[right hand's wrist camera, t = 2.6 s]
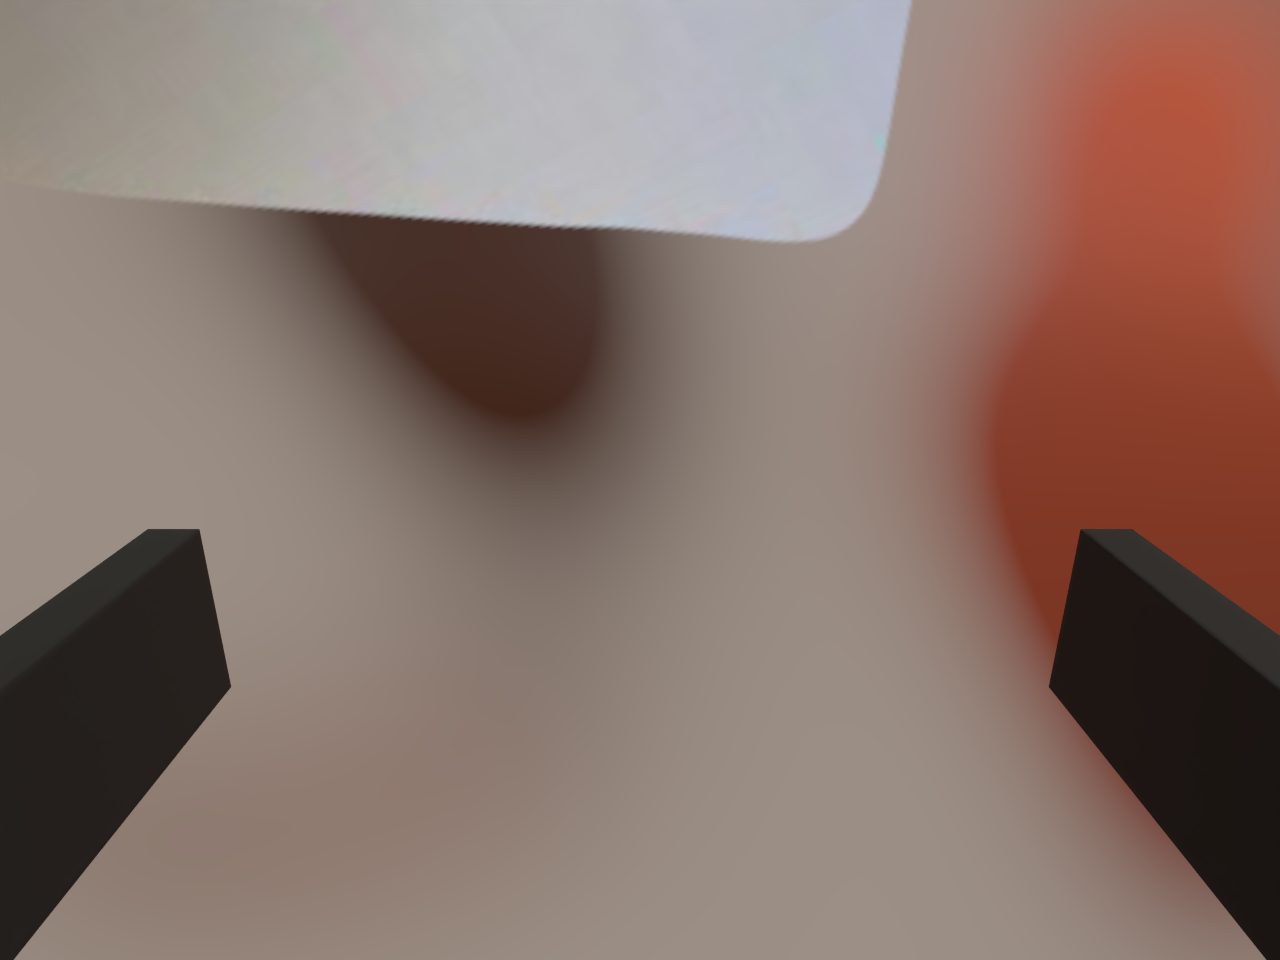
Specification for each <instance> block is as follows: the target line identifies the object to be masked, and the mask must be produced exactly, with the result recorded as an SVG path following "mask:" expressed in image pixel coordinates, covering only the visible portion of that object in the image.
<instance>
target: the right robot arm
mask: <svg viewBox="0 0 1280 960" xmlns="http://www.w3.org/2000/svg"><path fill="white" fill-rule="evenodd" d="M230 687H231V684H230V679H229V674H228V669H227V664H226V659H225V654H224V649H223V644H222V639H221V634H220V629H219V624H218V620H217V615H216V610H215V605H214V600H213V595H212V590H211V585H210V580H209V575H208V570H207V565H206V560H205V555H204V550H203V545H202V540H201V535H200V530H199V529H148V530H146V531H145V532H143V533H142V534H141V535H139V536H138V537H136V538H135V539H134V540H132V541H131V542H130V543H128V544H127V545H125V546H124V547H123V548H121V549H120V550H118V551H117V552H116V553H114V554H113V555H112V556H110V557H109V558H107V559H106V560H105V561H103V562H102V563H100V564H99V565H98V566H96V567H95V568H94V569H92V570H91V571H89V572H88V573H87V574H85V575H84V576H82V577H81V578H80V579H78V580H77V581H76V582H74V583H73V584H71V585H70V586H69V587H67V588H66V589H64V590H63V591H62V592H60V593H59V594H58V595H56V596H55V597H53V598H52V599H51V600H49V601H48V602H46V603H45V604H44V605H42V606H41V607H39V608H38V609H37V610H35V611H34V612H33V613H31V614H30V615H28V616H27V617H26V618H24V619H23V620H22V621H20V622H19V623H17V624H16V625H15V626H13V627H12V628H10V629H9V630H8V631H6V632H5V633H4V634H2V635H1V636H0V960H14V958H15V957H16V956H17V955H18V953H19V952H20V951H21V950H22V948H23V947H24V946H25V945H26V943H27V942H28V941H29V940H30V938H31V937H32V936H33V935H34V933H35V932H36V931H37V930H38V928H39V927H40V926H41V925H42V923H43V922H44V921H45V920H46V918H47V917H48V916H49V915H50V913H51V912H52V911H53V910H54V908H55V907H56V906H57V905H58V903H59V902H60V901H61V900H62V898H63V897H64V896H65V895H66V893H67V892H68V891H69V889H70V888H71V887H72V886H73V884H74V883H75V882H76V881H77V879H78V878H79V877H80V876H81V874H82V873H83V872H84V871H85V869H86V868H87V867H88V866H89V864H90V863H91V862H92V861H93V859H94V858H95V857H96V856H97V854H98V853H99V852H100V851H101V849H102V848H103V847H104V846H105V844H106V843H107V842H108V841H109V839H110V838H111V837H112V835H113V834H114V833H115V832H116V831H117V829H118V828H119V827H120V825H121V824H122V823H123V822H124V820H125V819H126V818H127V817H128V815H129V814H130V813H131V812H132V810H133V809H134V808H135V807H136V805H137V804H138V803H139V802H140V800H141V799H142V798H143V797H144V795H145V794H146V793H147V792H148V790H149V789H150V788H151V787H152V785H153V784H154V783H155V782H156V780H157V779H158V778H159V777H160V775H161V774H162V773H163V771H164V770H165V769H166V768H167V767H168V765H169V764H170V763H171V762H172V760H173V759H174V758H175V757H176V755H177V754H178V753H179V752H180V750H181V749H182V748H183V746H184V745H185V744H186V743H187V741H188V740H189V739H190V738H191V736H192V735H193V734H194V733H195V731H196V730H197V729H198V728H199V726H200V725H201V724H202V723H203V721H204V720H205V719H206V718H207V716H208V715H209V714H210V713H211V711H212V710H213V709H214V708H215V706H216V705H217V704H218V703H219V701H220V700H221V699H222V698H223V696H224V695H225V694H226V692H227V691H228V690H229V689H230ZM1049 688H1050V689H1051V690H1052V691H1053V693H1054V694H1055V695H1056V696H1057V698H1058V699H1059V700H1060V701H1061V703H1062V704H1063V705H1064V706H1065V708H1066V709H1067V710H1068V711H1069V713H1070V714H1071V715H1072V716H1073V718H1074V719H1075V720H1076V721H1077V723H1078V724H1079V725H1080V726H1081V728H1082V729H1083V730H1084V731H1085V733H1086V734H1087V735H1088V736H1089V738H1090V739H1091V740H1092V741H1093V743H1094V744H1095V745H1096V746H1097V748H1098V749H1099V750H1100V752H1101V753H1102V754H1103V755H1104V757H1105V758H1106V759H1107V760H1108V762H1109V763H1110V764H1111V765H1112V767H1113V768H1114V769H1115V770H1116V772H1117V773H1118V774H1119V775H1120V777H1121V778H1122V779H1123V780H1124V782H1125V783H1126V784H1127V785H1128V787H1129V788H1130V789H1131V790H1132V792H1133V793H1134V794H1135V795H1136V797H1137V798H1138V799H1139V800H1140V802H1141V803H1142V804H1143V805H1144V807H1145V808H1146V809H1147V810H1148V812H1149V813H1150V814H1151V815H1152V817H1153V818H1154V819H1155V821H1156V822H1157V823H1158V824H1159V826H1160V827H1161V828H1162V829H1163V831H1164V832H1165V833H1166V834H1167V836H1168V837H1169V838H1170V839H1171V841H1172V842H1173V843H1174V844H1175V846H1176V847H1177V848H1178V849H1179V851H1180V852H1181V853H1182V854H1183V856H1184V857H1185V858H1186V859H1187V861H1188V862H1189V863H1190V864H1191V866H1192V867H1193V868H1194V869H1195V871H1196V872H1197V873H1198V874H1199V876H1200V877H1201V878H1202V879H1203V881H1204V882H1205V883H1206V884H1207V886H1208V887H1209V888H1210V889H1211V891H1212V892H1213V893H1214V894H1215V896H1216V897H1217V898H1218V900H1219V901H1220V902H1221V903H1222V905H1223V906H1224V907H1225V908H1226V910H1227V911H1228V912H1229V913H1230V915H1231V916H1232V917H1233V918H1234V920H1235V921H1236V922H1237V923H1238V925H1239V926H1240V927H1241V928H1242V930H1243V931H1244V932H1245V933H1246V935H1247V936H1248V937H1249V938H1250V940H1251V941H1252V942H1253V943H1254V945H1255V946H1256V947H1257V948H1258V950H1259V951H1260V952H1261V953H1262V955H1263V956H1264V957H1265V958H1266V960H1280V636H1279V635H1278V634H1277V633H1275V632H1274V631H1272V630H1271V629H1270V628H1268V627H1267V626H1265V625H1264V624H1263V623H1261V622H1260V621H1258V620H1257V619H1256V618H1254V617H1253V616H1252V615H1250V614H1249V613H1247V612H1246V611H1245V610H1243V609H1242V608H1240V607H1239V606H1238V605H1236V604H1235V603H1234V602H1232V601H1231V600H1229V599H1228V598H1227V597H1225V596H1224V595H1222V594H1221V593H1220V592H1218V591H1217V590H1216V589H1214V588H1213V587H1211V586H1210V585H1209V584H1207V583H1206V582H1204V581H1203V580H1202V579H1200V578H1199V577H1198V576H1196V575H1195V574H1193V573H1192V572H1191V571H1189V570H1188V569H1186V568H1185V567H1184V566H1182V565H1181V564H1180V563H1178V562H1177V561H1175V560H1174V559H1173V558H1171V557H1170V556H1168V555H1167V554H1166V553H1164V552H1163V551H1162V550H1160V549H1159V548H1157V547H1156V546H1155V545H1153V544H1152V543H1150V542H1149V541H1148V540H1146V539H1145V538H1143V537H1142V536H1141V535H1139V534H1138V533H1137V532H1135V531H1134V530H1132V529H1081V530H1080V535H1079V540H1078V545H1077V550H1076V555H1075V560H1074V565H1073V570H1072V575H1071V580H1070V585H1069V590H1068V595H1067V600H1066V605H1065V610H1064V615H1063V619H1062V624H1061V629H1060V634H1059V639H1058V644H1057V649H1056V654H1055V659H1054V664H1053V669H1052V674H1051V679H1050V684H1049Z"/></svg>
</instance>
